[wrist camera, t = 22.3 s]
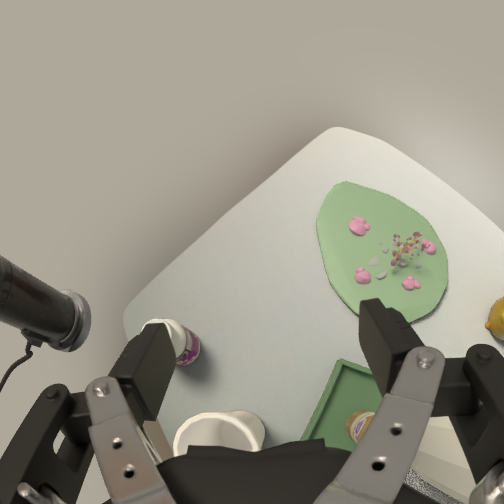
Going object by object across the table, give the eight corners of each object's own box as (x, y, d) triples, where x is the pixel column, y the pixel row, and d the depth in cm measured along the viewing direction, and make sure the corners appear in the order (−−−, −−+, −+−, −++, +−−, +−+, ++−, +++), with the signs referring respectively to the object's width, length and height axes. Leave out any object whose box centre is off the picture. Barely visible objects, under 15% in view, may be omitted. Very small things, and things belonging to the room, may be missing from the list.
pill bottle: (170, 369, 39) (138, 362, 30) (163, 334, 42) (131, 318, 33) (205, 361, 39) (180, 353, 30) (197, 325, 42) (172, 307, 33)
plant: (275, 234, 46) (270, 200, 38) (360, 167, 50) (368, 130, 42) (392, 354, 36) (416, 344, 28) (466, 260, 40) (493, 234, 32)
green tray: (379, 480, 28) (384, 486, 26) (292, 454, 32) (292, 459, 30) (420, 388, 33) (428, 388, 31) (337, 360, 37) (340, 358, 34)
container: (493, 389, 30) (573, 375, 14) (476, 476, 24) (547, 497, 8) (418, 391, 33) (492, 385, 17) (397, 485, 27) (453, 531, 11)
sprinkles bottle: (348, 407, 33) (376, 417, 21) (381, 410, 32) (421, 419, 20) (341, 440, 31) (364, 464, 19) (373, 443, 30) (410, 465, 18)
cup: (229, 393, 37) (196, 395, 24) (283, 420, 34) (278, 439, 22) (201, 440, 34) (157, 462, 21) (254, 469, 32) (233, 506, 19)
